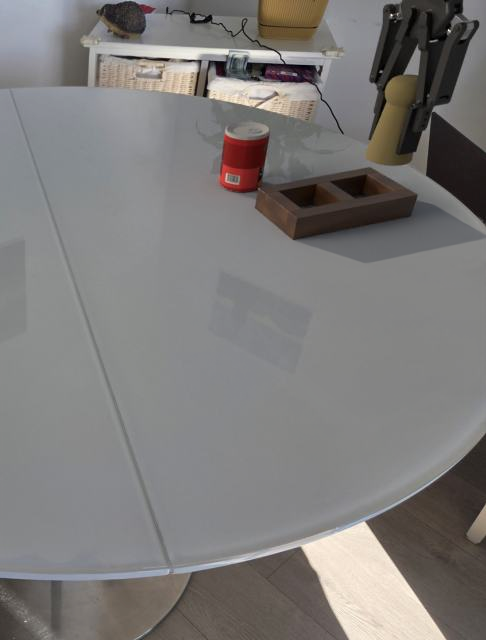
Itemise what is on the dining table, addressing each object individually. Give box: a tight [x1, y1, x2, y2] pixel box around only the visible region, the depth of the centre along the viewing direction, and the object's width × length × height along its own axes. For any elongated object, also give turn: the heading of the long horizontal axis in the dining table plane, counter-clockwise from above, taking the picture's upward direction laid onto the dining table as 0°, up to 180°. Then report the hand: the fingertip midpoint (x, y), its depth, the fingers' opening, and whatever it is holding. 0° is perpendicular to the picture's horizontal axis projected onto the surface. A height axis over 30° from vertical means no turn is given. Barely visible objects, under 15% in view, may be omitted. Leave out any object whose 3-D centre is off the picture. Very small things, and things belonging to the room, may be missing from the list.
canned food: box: [218, 121, 271, 193], centre depth 121 cm, size 8×8×11 cm
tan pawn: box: [364, 73, 429, 167], centre depth 87 cm, size 6×6×11 cm
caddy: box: [254, 166, 419, 241], centre depth 112 cm, size 12×22×4 cm, turn 104°
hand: (391, 145), depth 89 cm, fingers closed on tan pawn, 5 cm apart
